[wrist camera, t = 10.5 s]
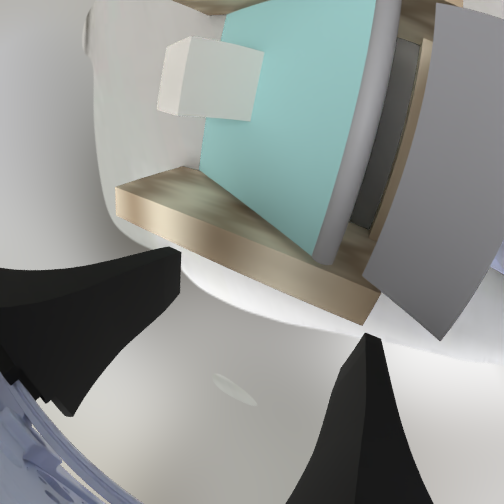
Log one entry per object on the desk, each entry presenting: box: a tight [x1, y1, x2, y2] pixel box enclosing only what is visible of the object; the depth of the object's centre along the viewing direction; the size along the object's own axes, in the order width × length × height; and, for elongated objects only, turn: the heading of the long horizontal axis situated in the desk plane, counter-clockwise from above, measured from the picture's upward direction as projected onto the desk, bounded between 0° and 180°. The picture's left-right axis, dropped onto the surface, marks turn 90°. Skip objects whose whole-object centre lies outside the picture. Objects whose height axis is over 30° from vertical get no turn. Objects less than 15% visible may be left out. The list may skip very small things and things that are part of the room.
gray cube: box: [157, 36, 265, 121], centre depth 12 cm, size 4×4×4 cm
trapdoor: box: [199, 0, 504, 341], centre depth 11 cm, size 18×12×4 cm, turn 80°
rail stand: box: [115, 0, 463, 325], centre depth 12 cm, size 17×17×7 cm
